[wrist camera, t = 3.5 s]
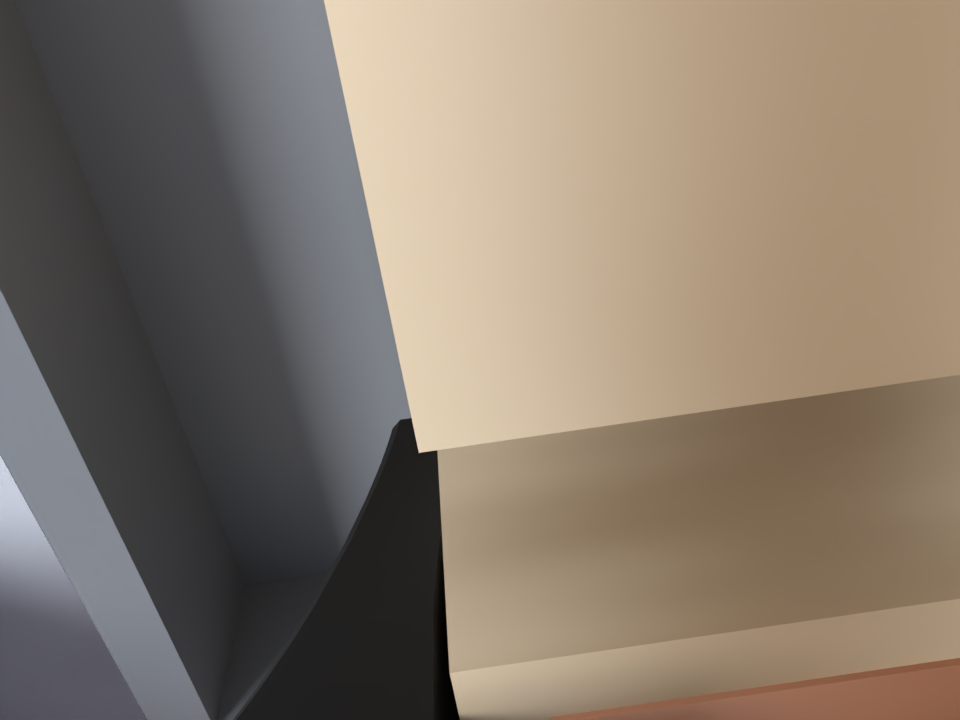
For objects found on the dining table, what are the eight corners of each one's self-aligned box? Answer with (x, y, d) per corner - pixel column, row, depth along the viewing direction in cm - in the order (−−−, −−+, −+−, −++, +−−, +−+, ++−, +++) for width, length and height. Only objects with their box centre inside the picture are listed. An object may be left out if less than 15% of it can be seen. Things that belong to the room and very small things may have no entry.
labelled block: (474, 531, 13) (521, 996, 8) (426, 259, 10) (449, 679, 5) (775, 487, 13) (1018, 924, 8) (799, 204, 10) (1180, 573, 5)
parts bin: (216, 606, 15) (175, 771, 12) (-281, -546, 7) (-669, -753, 4) (1027, 489, 14) (1159, 630, 12) (1411, -800, 7) (1994, -1161, 4)
